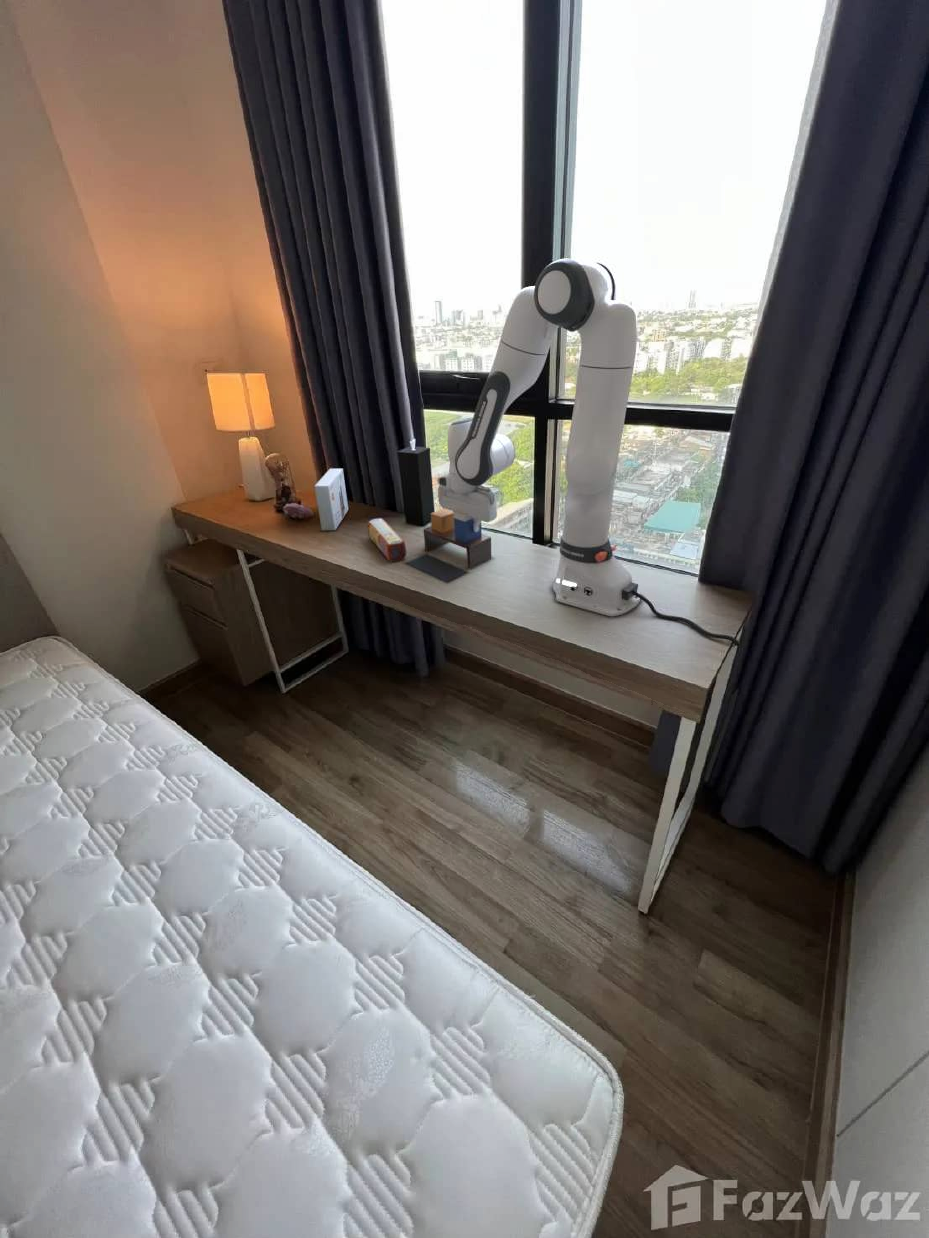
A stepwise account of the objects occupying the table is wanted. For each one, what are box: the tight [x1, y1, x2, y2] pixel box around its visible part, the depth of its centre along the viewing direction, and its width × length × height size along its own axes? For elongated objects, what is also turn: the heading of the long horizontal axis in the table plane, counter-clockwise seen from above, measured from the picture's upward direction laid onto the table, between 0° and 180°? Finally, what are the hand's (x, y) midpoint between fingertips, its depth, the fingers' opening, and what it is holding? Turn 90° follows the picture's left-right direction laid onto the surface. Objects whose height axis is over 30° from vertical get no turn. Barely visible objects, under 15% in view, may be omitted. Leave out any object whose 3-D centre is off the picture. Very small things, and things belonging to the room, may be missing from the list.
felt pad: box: [406, 553, 469, 583], centre depth 145 cm, size 18×8×1 cm, turn 44°
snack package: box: [366, 518, 407, 563], centre depth 156 cm, size 21×7×7 cm, turn 26°
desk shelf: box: [422, 525, 492, 570], centre depth 150 cm, size 20×9×7 cm, turn 44°
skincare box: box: [314, 468, 349, 531], centre depth 177 cm, size 21×5×16 cm, turn 179°
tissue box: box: [396, 438, 436, 527], centre depth 169 cm, size 8×8×28 cm
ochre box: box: [430, 508, 454, 533], centre depth 150 cm, size 5×6×5 cm
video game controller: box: [282, 502, 314, 519], centre depth 183 cm, size 10×5×7 cm, turn 73°
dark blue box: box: [454, 511, 483, 543], centre depth 143 cm, size 5×6×8 cm
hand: (467, 528), depth 144 cm, fingers closed on dark blue box, 4 cm apart
